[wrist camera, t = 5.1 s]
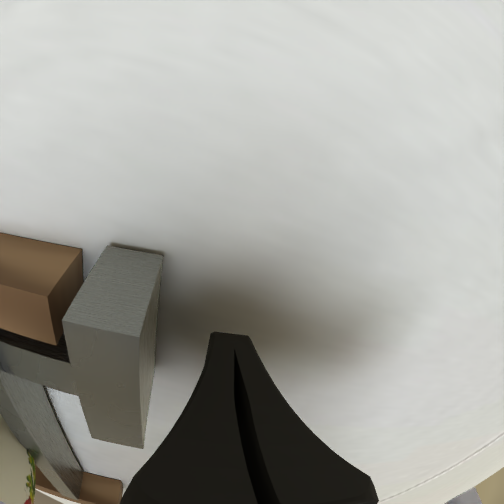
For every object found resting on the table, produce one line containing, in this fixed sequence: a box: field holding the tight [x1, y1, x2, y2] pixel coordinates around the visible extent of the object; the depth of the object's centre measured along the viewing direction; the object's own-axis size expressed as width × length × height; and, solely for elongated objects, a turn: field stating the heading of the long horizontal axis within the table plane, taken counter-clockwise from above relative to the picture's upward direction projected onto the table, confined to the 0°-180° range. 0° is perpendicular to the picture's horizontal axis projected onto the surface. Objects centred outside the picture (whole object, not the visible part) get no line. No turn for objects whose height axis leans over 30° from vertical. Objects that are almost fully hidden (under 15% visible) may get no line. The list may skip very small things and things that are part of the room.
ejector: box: [0, 246, 163, 501], centre depth 13 cm, size 23×8×4 cm, turn 166°
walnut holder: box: [0, 233, 123, 504], centre depth 13 cm, size 25×11×3 cm, turn 166°
